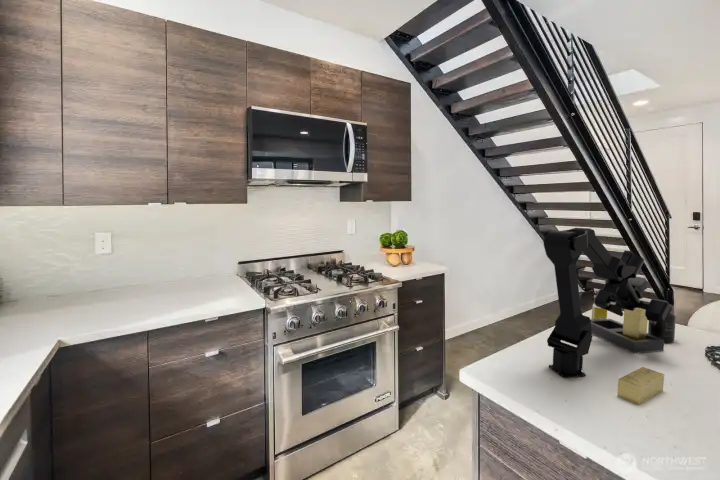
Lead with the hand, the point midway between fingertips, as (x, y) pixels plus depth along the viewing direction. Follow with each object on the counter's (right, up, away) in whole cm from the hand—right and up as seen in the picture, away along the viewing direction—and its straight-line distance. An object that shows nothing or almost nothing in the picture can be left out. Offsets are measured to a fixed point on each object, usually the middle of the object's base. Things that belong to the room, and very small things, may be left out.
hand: (638, 319), depth 115 cm
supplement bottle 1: (+3, -6, +23) cm, 24 cm away
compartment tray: (-2, -8, +5) cm, 10 cm away
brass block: (-1, -8, 0) cm, 8 cm away
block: (-21, -12, -27) cm, 36 cm away
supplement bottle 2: (+11, -8, +5) cm, 15 cm away
